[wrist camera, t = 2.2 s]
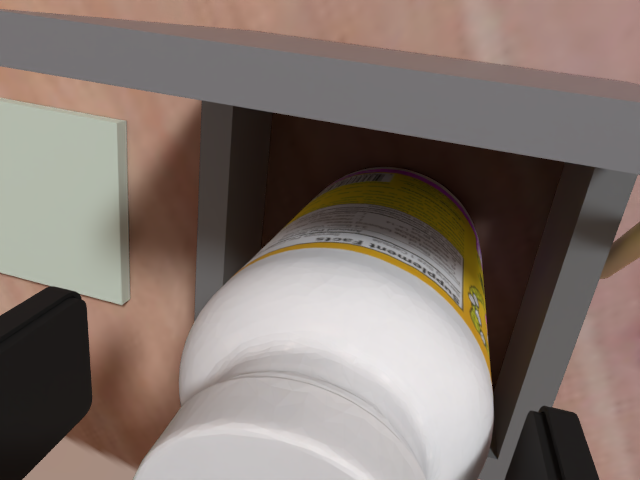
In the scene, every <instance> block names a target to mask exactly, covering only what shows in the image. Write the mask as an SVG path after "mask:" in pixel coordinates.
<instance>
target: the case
mask: <svg viewBox="0 0 640 480" xmlns="http://www.w3.org/2000/svg"><path fill="white" fill-rule="evenodd" d="M0 66H2V67H8V68H14V69H20V70H26V71H32V72H37V73H43V74H49V75H55V76H61V77H67V78H73V79H79V80H85V81H91V82H96V83H102V84H108V85H114V86H120V87H126V88H132V89H138V90H144V91H150V92H155V93H161V94H167V95H173V96H179V97H185V98H191V99H197V100H202V112H201V142H200V172H199V201H198V231H197V260H196V290H195V319H194V322H195V320H196V318H197V317H198V315H199V313H200V312H201V310H202V309H203V308H204V306H205V305H206V304H207V302H208V301H209V300H210V299H211V298H212V297H213V295H214V294H215V293H216V292H217V291H218V290H219V289H220V288H221V287H222V286H223V285H224V284H225V283H226V282H227V281H228V280H229V279H230V278H231V277H232V276H234V275H235V274H236V273H237V272H238V271H239V270H240V269H241V268H242V267H243V266H244V265H246V264H247V263H248V262H249V261H250V260H251V259H252V258H253V257H254V256H255V255H256V254H257V253H258V252H259V251H260V250H261V241H262V229H263V218H264V206H265V194H266V183H267V171H268V159H269V148H270V136H271V124H272V112H273V113H279V114H285V115H291V116H297V117H303V118H309V119H315V120H321V121H326V122H332V123H338V124H344V125H350V126H356V127H362V128H368V129H374V130H380V131H385V132H391V133H397V134H403V135H409V136H415V137H421V138H427V139H433V140H438V141H444V142H450V143H456V144H462V145H468V146H474V147H480V148H486V149H492V150H497V151H503V152H509V153H515V154H521V155H527V156H533V157H539V158H545V159H551V160H556V161H562V162H565V164H564V167H563V171H562V174H561V177H560V180H559V183H558V187H557V190H556V193H555V196H554V200H553V203H552V206H551V209H550V212H549V216H548V219H547V222H546V225H545V229H544V232H543V235H542V238H541V242H540V245H539V248H538V251H537V254H536V258H535V261H534V264H533V267H532V271H531V274H530V277H529V280H528V283H527V287H526V290H525V293H524V296H523V300H522V303H521V306H520V309H519V313H518V316H517V319H516V322H515V325H514V329H513V332H512V335H511V338H510V342H509V345H508V348H507V351H506V355H505V358H504V361H503V364H502V367H501V371H500V374H499V377H498V380H497V384H496V387H495V390H494V393H493V409H494V424H493V433H492V440H491V444H490V448H489V453H488V457H487V459H486V462H485V464H484V467H483V469H482V471H481V473H480V475H479V477H478V479H480V480H505V477H506V474H507V471H508V468H509V465H510V462H511V460H512V457H513V454H514V451H515V448H516V445H517V442H518V440H519V437H520V434H521V431H522V428H523V425H524V422H525V420H526V417H527V414H528V413H529V411H531V410H532V411H536V412H538V411H539V409H540V408H541V407H542V406H548V407H552V406H553V403H554V401H555V398H556V395H557V393H558V390H559V387H560V384H561V382H562V379H563V376H564V374H565V371H566V368H567V365H568V363H569V360H570V357H571V355H572V352H573V349H574V346H575V344H576V341H577V338H578V336H579V333H580V330H581V327H582V325H583V322H584V319H585V317H586V314H587V311H588V308H589V306H590V303H591V300H592V298H593V295H594V292H595V289H596V287H597V284H598V281H599V279H605V278H608V277H610V276H611V275H613V274H615V273H616V272H618V271H619V270H621V269H622V268H624V267H625V266H627V265H628V264H630V263H631V262H633V261H634V260H636V259H637V258H639V257H640V222H639V223H638V224H636V225H635V226H634V227H633V228H631V229H630V230H629V231H627V232H626V233H625V234H624V235H622V236H621V237H620V238H619V239H617V240H616V241H615V242H614V243H613V241H614V238H615V235H616V232H617V230H618V227H619V224H620V221H621V219H622V216H623V213H624V211H625V208H626V205H627V202H628V200H629V197H630V194H631V192H632V189H633V186H634V183H635V181H636V178H637V175H638V174H639V175H640V84H635V83H630V82H624V81H617V80H609V79H602V78H595V77H587V76H580V75H573V74H565V73H558V72H551V71H543V70H536V69H529V68H522V67H514V66H507V65H500V64H492V63H485V62H478V61H470V60H463V59H456V58H448V57H441V56H434V55H426V54H419V53H412V52H404V51H397V50H390V49H382V48H375V47H368V46H361V45H353V44H346V43H339V42H331V41H324V40H317V39H309V38H302V37H295V36H287V35H280V34H273V33H265V32H258V31H250V30H239V29H227V28H215V27H204V26H192V25H180V24H169V23H157V22H145V21H134V20H122V19H110V18H99V17H87V16H75V15H64V14H52V13H40V12H29V11H17V10H5V9H0Z"/></svg>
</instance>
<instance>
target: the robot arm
mask: <svg viewBox="0 0 640 480" xmlns="http://www.w3.org/2000/svg"><path fill="white" fill-rule="evenodd" d="M91 403H92V386H91V370H90V354H89V338H88V321H87V307H86V303H85V301H83V300H82V299H81V296H80V294H79V293H77V292H76V291H72V290H68V289H63V288H59V287H55V286H50V287H47V288H45V289H44V290H42V291H40V292H39V293H37V294H35V295H34V296H32V297H31V298H29V299H27V300H26V301H24V302H22V303H21V304H19V305H17V306H16V307H14V308H12V309H11V310H9V311H7V312H6V313H4V314H2V315H1V316H0V480H22V479H23V478H24V477H25V476H26V475H27V474H28V473H29V472H30V471H31V470H32V469H33V468H34V467H35V466H36V465H37V464H38V463H39V462H40V461H41V460H42V459H43V458H44V457H45V456H46V455H47V454H48V453H49V452H50V451H51V449H53V448H54V447H55V445H57V444H58V443H59V442H60V441H61V440H62V439H63V438H64V437H65V436H66V434H67V433H68V432H69V431H70V430H71V429H72V428H73V427H74V426H75V425H76V424H77V423H78V422H79V421H80V420H81V419H82V418H83V417H84V416H85V415H86V414H87V412H88V411H89V409H90V406H91ZM505 480H599V477H598V474H597V471H596V468H595V465H594V462H593V459H592V456H591V454H590V451H589V448H588V445H587V442H586V439H585V436H584V433H583V430H582V427H581V424H580V421H579V418H578V416H577V414H575V413H573V412H569V411H565V410H561V409H557V408H553V407H548V406H542V407H541V408H540V409H539V411H538V412H536V411H532V410H531V411H529V413H528V414H527V417H526V420H525V422H524V425H523V428H522V431H521V434H520V437H519V440H518V442H517V445H516V448H515V451H514V454H513V457H512V460H511V462H510V465H509V468H508V471H507V474H506V477H505Z"/></svg>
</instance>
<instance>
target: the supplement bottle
mask: <svg viewBox="0 0 640 480" xmlns="http://www.w3.org/2000/svg"><path fill="white" fill-rule="evenodd" d="M482 268H483V267H482V256H481V250H480V244H479V239H478V235H477V231H476V229H475V226H474V224H473V222H472V219H471V218H470V216H469V214H468V212H467V211H466V209H465V208H464V206H463V205H462V204H461V203H460V201H459V200H458V199H457V198H456V197H455V196H454V195H453V194H452V193H451V192H450V191H449V190H447V189H446V188H445V187H444V186H442V185H441V184H439V183H438V182H436V181H435V180H433V179H431V178H429V177H427V176H424V175H422V174H419V173H417V172H414V171H410V170H406V169H401V168H394V167H374V168H368V169H363V170H359V171H356V172H353V173H350V174H348V175H345V176H343V177H342V178H340V179H338V180H336V181H335V182H333V183H332V184H330V185H329V186H328V187H326V188H325V189H324V190H323V191H321V192H320V193H319V194H318V195H317V196H316V197H315V198H314V199H313V200H312V201H311V202H310V203H309V204H308V205H307V206H306V207H304V208H303V209H302V210H301V211H300V212H299V213H298V214H297V215H296V216H295V217H294V218H293V219H292V220H291V221H290V222H289V223H288V224H287V225H286V226H285V227H284V228H283V229H282V230H281V231H280V232H279V233H278V234H277V235H276V236H275V237H274V238H273V239H272V240H271V241H270V242H269V243H268V244H266V245H265V246H264V247H263V248H262V249H261V250H260V251H259V252H258V253H257V254H256V255H255V256H254V257H253V258H252V259H251V260H250V261H249V262H248V263H247V264H246V265H244V266H243V267H242V268H241V269H240V270H239V271H238V272H237V273H236V274H235V275H234V276H232V277H231V278H230V279H229V280H228V281H227V282H226V283H225V284H224V285H223V286H222V287H221V288H220V289H219V290H218V291H217V292H216V293H215V294H214V295H213V297H212V298H211V299H210V300H209V301H208V302H207V304H206V305H205V306H204V308H203V309H202V310H201V312H200V313H199V315H198V317H197V318H196V320H195V322H194V324H193V326H192V328H191V330H190V332H189V334H188V337H187V339H186V342H185V346H184V349H183V353H182V357H181V362H180V371H179V396H180V403H181V408H180V409H179V411H178V412H177V413H176V415H175V416H174V418H173V419H172V420H171V422H170V423H169V425H168V426H167V427H166V429H165V430H164V432H163V433H162V434H161V436H160V437H159V438H158V440H157V441H156V442H155V444H154V445H153V446H152V448H151V449H150V450H149V452H148V453H147V454H146V456H145V457H144V459H143V460H142V462H141V464H140V466H139V468H138V470H137V472H136V474H135V476H134V478H133V480H477V479H478V477H479V475H480V473H481V471H482V469H483V467H484V464H485V462H486V459H487V457H488V453H489V448H490V444H491V440H492V433H493V424H494V409H493V390H492V380H491V370H490V356H489V345H488V331H487V319H486V304H485V293H484V280H483V269H482Z"/></svg>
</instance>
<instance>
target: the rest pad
mask: <svg viewBox="0 0 640 480" xmlns="http://www.w3.org/2000/svg"><path fill="white" fill-rule="evenodd" d="M0 273H4V274H7V275H11V276H15V277H19V278H22V279H26V280H30V281H34V282H37V283H41V284H45V285H49V286H55V287H59V288H63V289H68V290H72V291H76V292H77V293H79V294H82V295H86V296H90V297H94V298H97V299H101V300H105V301H109V302H112V303H116V304H120V305H123V304H124V303H125V302H127V301H128V300H129V299H130V272H129V225H128V177H127V130H126V121H124V120H119V119H113V118H108V117H102V116H97V115H91V114H86V113H81V112H75V111H70V110H64V109H59V108H53V107H48V106H43V105H37V104H32V103H26V102H21V101H15V100H10V99H5V98H0Z"/></svg>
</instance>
